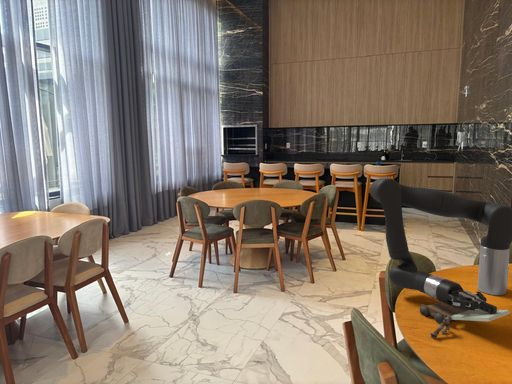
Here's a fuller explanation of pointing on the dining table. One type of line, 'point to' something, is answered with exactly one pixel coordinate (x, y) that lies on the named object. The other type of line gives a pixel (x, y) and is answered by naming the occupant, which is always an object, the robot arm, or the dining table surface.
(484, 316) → the panel
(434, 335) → the wooden post with brackets
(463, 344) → the dining table surface
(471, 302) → the robot arm
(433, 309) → the flatbed
